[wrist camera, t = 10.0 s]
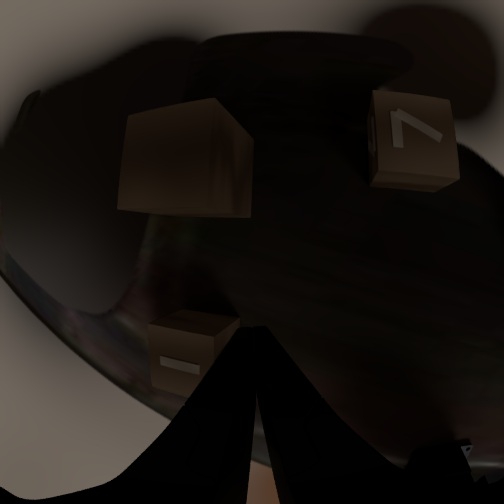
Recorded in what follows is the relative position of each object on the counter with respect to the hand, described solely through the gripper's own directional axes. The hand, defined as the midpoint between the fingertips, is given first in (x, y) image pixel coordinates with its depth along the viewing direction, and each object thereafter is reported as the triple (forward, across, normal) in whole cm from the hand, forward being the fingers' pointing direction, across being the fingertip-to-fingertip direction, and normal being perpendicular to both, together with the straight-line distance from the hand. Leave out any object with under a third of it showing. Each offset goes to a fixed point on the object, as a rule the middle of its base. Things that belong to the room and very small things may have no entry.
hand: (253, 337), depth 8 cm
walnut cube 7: (+12, -11, -4) cm, 17 cm away
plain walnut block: (+16, +2, -2) cm, 16 cm away
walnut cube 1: (+11, +4, +10) cm, 15 cm away
